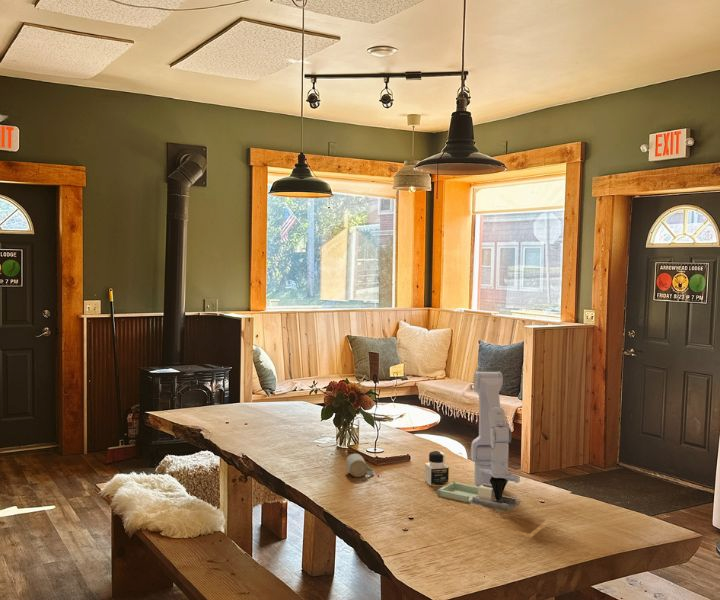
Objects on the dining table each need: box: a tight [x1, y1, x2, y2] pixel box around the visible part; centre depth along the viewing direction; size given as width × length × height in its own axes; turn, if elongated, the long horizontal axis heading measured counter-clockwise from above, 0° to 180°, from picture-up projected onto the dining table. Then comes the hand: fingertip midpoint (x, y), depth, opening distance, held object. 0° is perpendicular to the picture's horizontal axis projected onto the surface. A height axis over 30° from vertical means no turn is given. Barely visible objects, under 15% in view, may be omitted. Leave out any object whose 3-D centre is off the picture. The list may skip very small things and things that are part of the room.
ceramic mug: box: [345, 453, 375, 478], centre depth 295 cm, size 11×8×8 cm
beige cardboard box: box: [477, 483, 497, 501], centre depth 265 cm, size 5×5×6 cm
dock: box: [467, 494, 521, 512], centre depth 263 cm, size 12×15×2 cm
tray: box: [436, 481, 479, 503], centre depth 271 cm, size 12×12×3 cm
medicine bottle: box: [424, 450, 450, 487], centre depth 286 cm, size 7×7×12 cm
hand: (498, 498), depth 262 cm, fingers closed
